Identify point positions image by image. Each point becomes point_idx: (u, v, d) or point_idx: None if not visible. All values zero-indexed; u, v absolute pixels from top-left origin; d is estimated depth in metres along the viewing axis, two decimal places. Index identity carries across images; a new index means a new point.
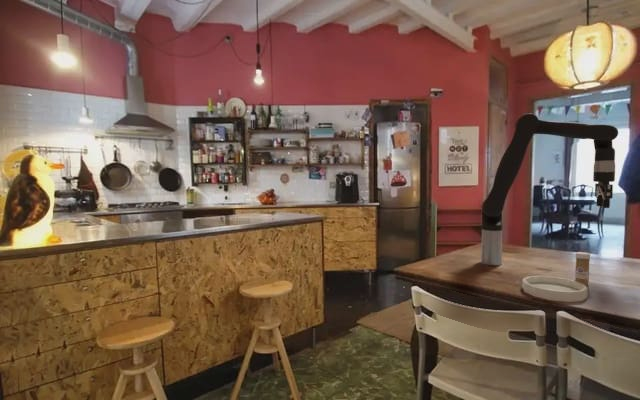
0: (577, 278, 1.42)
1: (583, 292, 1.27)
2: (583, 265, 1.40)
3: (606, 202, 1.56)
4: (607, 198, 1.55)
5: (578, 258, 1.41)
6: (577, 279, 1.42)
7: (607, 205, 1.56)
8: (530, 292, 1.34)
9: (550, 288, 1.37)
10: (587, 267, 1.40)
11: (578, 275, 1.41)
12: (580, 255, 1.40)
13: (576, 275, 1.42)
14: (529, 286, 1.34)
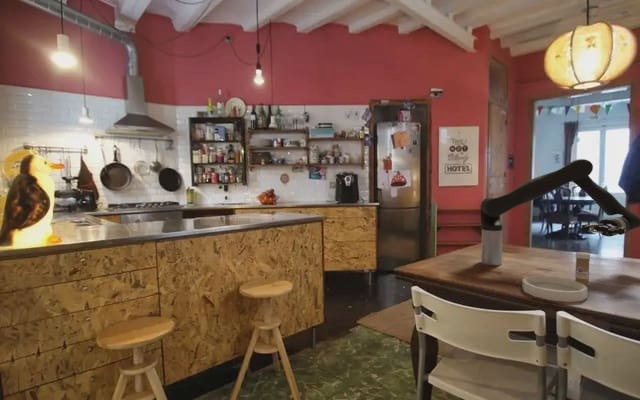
0: (577, 278, 1.42)
1: (583, 292, 1.27)
2: (583, 265, 1.40)
3: (614, 231, 1.44)
4: (618, 230, 1.44)
5: (578, 258, 1.41)
6: (577, 279, 1.42)
7: (612, 232, 1.43)
8: (530, 292, 1.34)
9: (550, 288, 1.37)
10: (587, 267, 1.40)
11: (578, 275, 1.41)
12: (580, 255, 1.40)
13: (576, 275, 1.42)
14: (529, 286, 1.34)
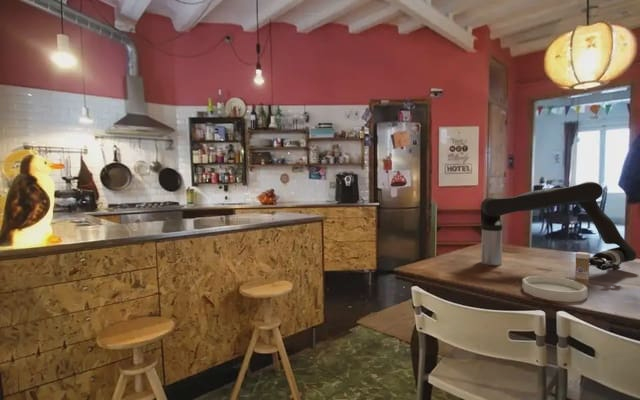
0: (577, 278, 1.42)
1: (583, 292, 1.27)
2: (583, 265, 1.40)
3: (608, 266, 1.43)
4: (613, 266, 1.43)
5: (578, 258, 1.41)
6: (577, 279, 1.42)
7: (606, 268, 1.42)
8: (530, 292, 1.34)
9: (550, 288, 1.37)
10: (587, 267, 1.40)
11: (578, 275, 1.41)
12: (580, 255, 1.40)
13: (576, 275, 1.42)
14: (529, 286, 1.34)
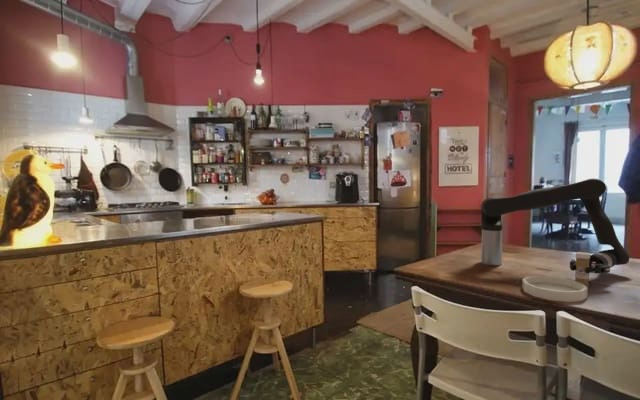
0: (577, 278, 1.42)
1: (583, 292, 1.27)
2: (583, 265, 1.40)
3: (592, 269, 1.39)
4: (597, 269, 1.39)
5: (578, 258, 1.41)
6: (577, 279, 1.42)
7: (590, 271, 1.38)
8: (530, 292, 1.34)
9: (550, 288, 1.37)
10: None
11: (578, 275, 1.41)
12: (580, 255, 1.40)
13: (576, 275, 1.42)
14: (529, 286, 1.34)
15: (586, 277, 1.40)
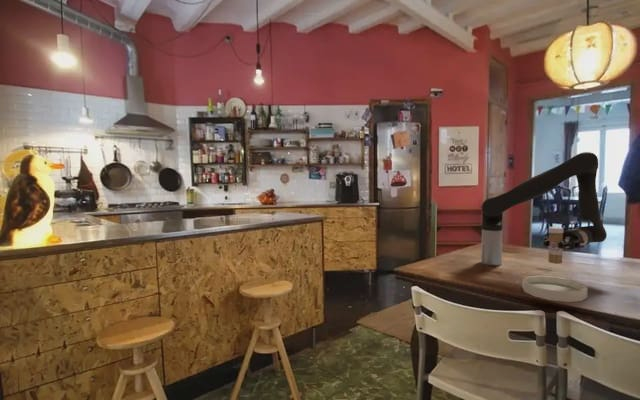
0: (550, 254, 1.35)
1: (583, 292, 1.27)
2: (556, 240, 1.33)
3: (565, 244, 1.32)
4: (571, 244, 1.32)
5: (551, 233, 1.34)
6: (550, 255, 1.35)
7: (563, 246, 1.31)
8: (530, 292, 1.34)
9: (550, 288, 1.37)
10: None
11: (551, 251, 1.34)
12: (553, 229, 1.33)
13: (549, 251, 1.35)
14: (529, 286, 1.34)
15: (559, 253, 1.33)
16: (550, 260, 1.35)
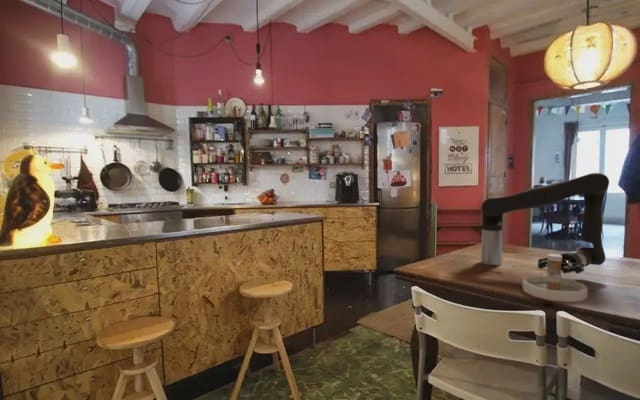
0: (549, 281, 1.35)
1: (583, 292, 1.27)
2: (554, 268, 1.33)
3: (570, 269, 1.31)
4: (575, 269, 1.31)
5: (550, 260, 1.35)
6: (548, 283, 1.35)
7: (568, 270, 1.31)
8: (530, 292, 1.34)
9: None
10: (559, 270, 1.33)
11: (549, 278, 1.35)
12: (552, 257, 1.34)
13: (548, 278, 1.36)
14: (529, 286, 1.34)
15: (558, 280, 1.33)
16: (548, 287, 1.35)
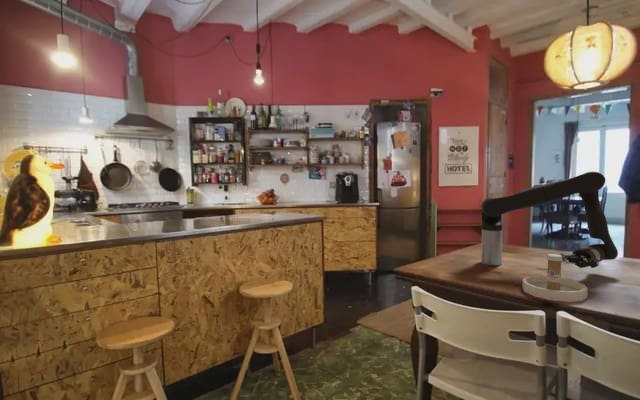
0: (549, 281, 1.35)
1: (583, 292, 1.27)
2: (554, 268, 1.33)
3: (585, 264, 1.38)
4: (590, 263, 1.38)
5: (550, 260, 1.35)
6: (548, 283, 1.35)
7: (584, 265, 1.37)
8: (530, 292, 1.34)
9: None
10: (559, 270, 1.33)
11: (549, 278, 1.35)
12: (551, 257, 1.34)
13: (548, 278, 1.36)
14: (529, 286, 1.34)
15: (558, 280, 1.33)
16: (548, 287, 1.35)
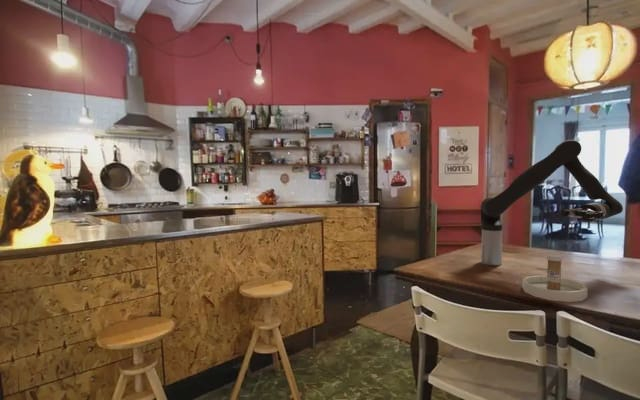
0: (549, 281, 1.35)
1: (583, 292, 1.27)
2: (554, 268, 1.34)
3: (592, 214, 1.42)
4: (597, 214, 1.42)
5: (549, 260, 1.35)
6: (548, 283, 1.35)
7: (590, 216, 1.42)
8: (530, 292, 1.34)
9: None
10: (559, 270, 1.33)
11: (549, 278, 1.35)
12: (551, 257, 1.34)
13: (548, 278, 1.36)
14: (529, 286, 1.34)
15: (558, 280, 1.33)
16: (548, 287, 1.35)
